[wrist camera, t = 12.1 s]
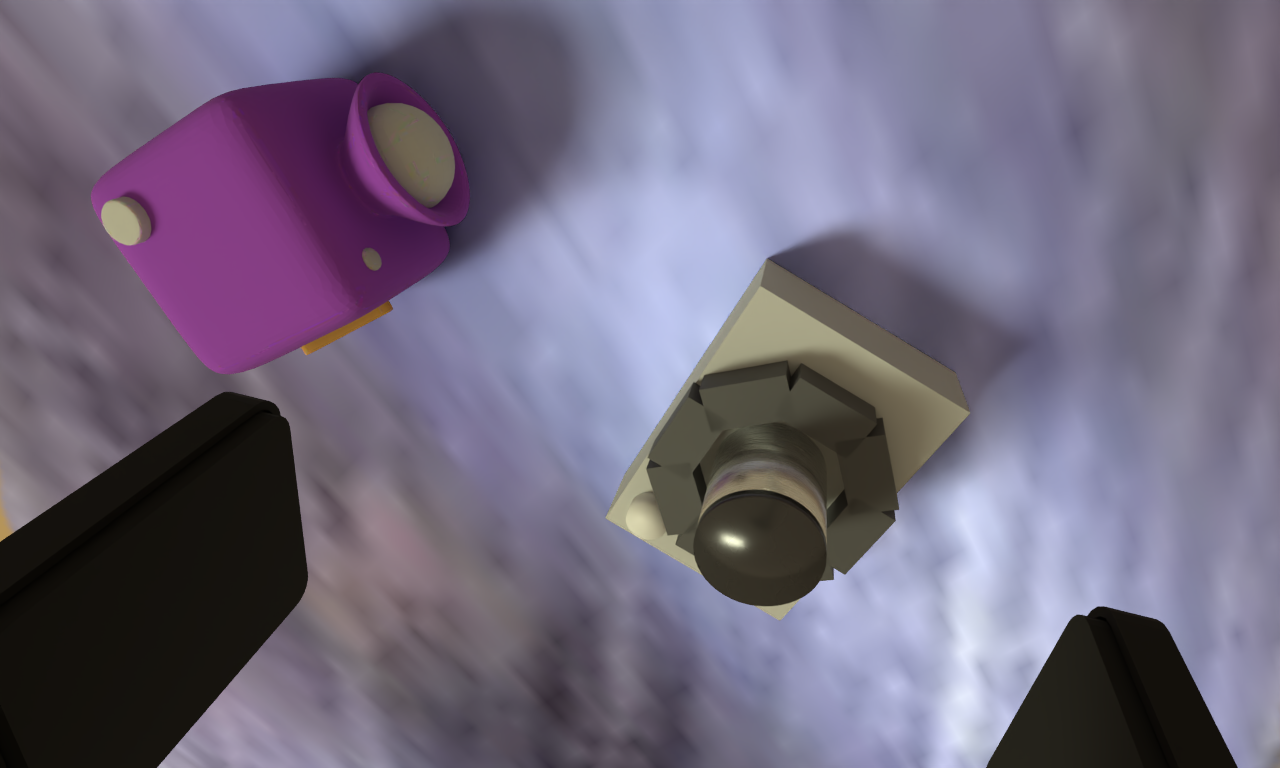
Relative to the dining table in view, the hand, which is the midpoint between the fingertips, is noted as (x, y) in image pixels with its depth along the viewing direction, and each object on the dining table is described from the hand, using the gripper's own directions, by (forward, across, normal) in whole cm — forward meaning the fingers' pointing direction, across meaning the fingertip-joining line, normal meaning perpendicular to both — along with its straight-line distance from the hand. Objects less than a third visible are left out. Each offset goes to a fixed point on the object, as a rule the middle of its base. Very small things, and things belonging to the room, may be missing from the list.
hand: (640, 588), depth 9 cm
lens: (+22, -2, +13) cm, 26 cm away
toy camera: (+27, +19, +5) cm, 33 cm away
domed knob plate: (+26, -3, +13) cm, 29 cm away
